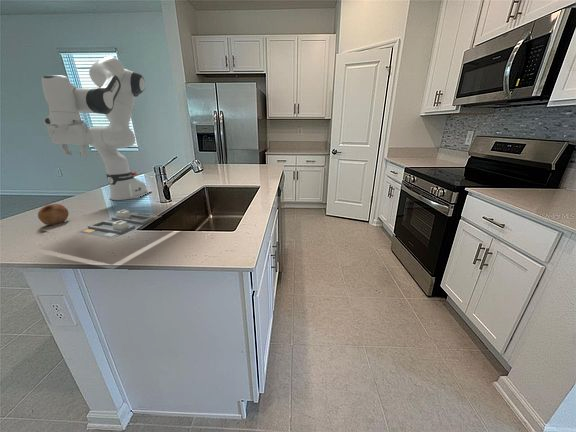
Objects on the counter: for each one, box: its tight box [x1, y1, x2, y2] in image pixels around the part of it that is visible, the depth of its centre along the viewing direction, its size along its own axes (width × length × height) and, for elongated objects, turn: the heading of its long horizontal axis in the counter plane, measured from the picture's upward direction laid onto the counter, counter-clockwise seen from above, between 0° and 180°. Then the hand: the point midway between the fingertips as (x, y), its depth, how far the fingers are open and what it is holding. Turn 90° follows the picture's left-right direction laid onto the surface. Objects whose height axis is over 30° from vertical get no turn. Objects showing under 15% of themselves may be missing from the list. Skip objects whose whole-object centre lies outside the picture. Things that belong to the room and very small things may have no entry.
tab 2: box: [112, 220, 128, 230], centre depth 95 cm, size 3×4×4 cm
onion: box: [37, 203, 69, 226], centre depth 102 cm, size 10×9×10 cm
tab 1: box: [116, 208, 131, 219], centre depth 107 cm, size 3×4×4 cm
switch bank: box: [77, 211, 163, 239], centre depth 102 cm, size 24×18×2 cm
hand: (76, 155), depth 101 cm, fingers open, 8 cm apart
